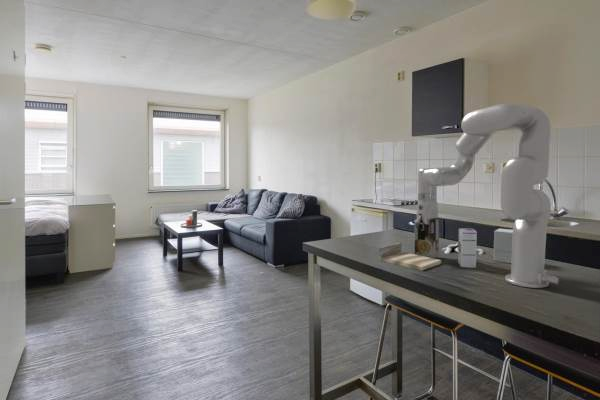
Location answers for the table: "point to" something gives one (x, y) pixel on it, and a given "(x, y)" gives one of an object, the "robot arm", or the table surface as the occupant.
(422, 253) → the coffee box
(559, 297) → the table surface
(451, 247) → the cloth
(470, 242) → the syrup box
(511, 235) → the supplement box
